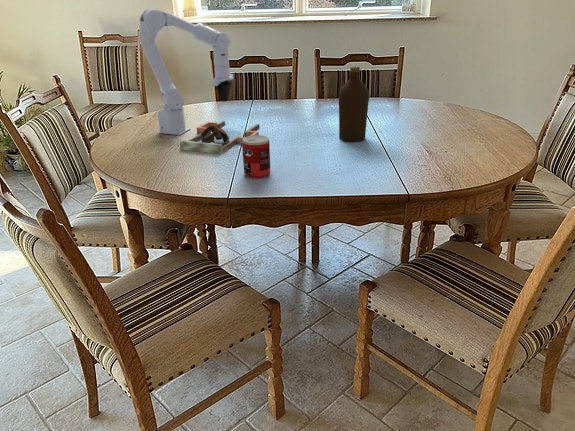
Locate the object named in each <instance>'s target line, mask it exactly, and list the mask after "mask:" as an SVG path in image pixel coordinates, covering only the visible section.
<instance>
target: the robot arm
mask: <svg viewBox="0 0 575 431" xmlns="http://www.w3.org/2000/svg"><path fill="white" fill-rule="evenodd" d="M172 26H173V27H176V28H178V29H181V30H183V31H186V32H187V33H190V34H192V36H193V38H194V39H195V40H198V41H200V42H203V43H204V44H207V45H211V46H212V50H213V53H212V54H213V65H214V78H212V80H211V86H212V87H215V88H216V90H217V92H218V94H219V98H220V100H221V102H228V101H229V93H230V89H231V87H232V85H233V82H232V81H233V80H234V73H230V72H231V71H230V59H229V58H230V57H229V47H230V44H231V40H230V39H229V36H228V35H227V34H226V33H224V32H222V31H221V32H220V31H219V29H218V28H212V27H210V26H208V25H207V23H206V22H202V23H201V22H198V23H196V24H194V23H192V22H190V21H188V20H185V19H183V18H181V17H179V16H177V15H175V14H173V13H169V12H166V11H162V10H159V9H154V8H147V9H145V10H144V11H142V14H141V16H140V17H139V29H138V41H139V43H140V45H141V48H142V50H143V52H144V55H145V56H146V59H147V61H148V63H149V66H150V68H151V70H152V72H153V74H154V77H155V79H156V81H157V84H158V86H159V90H160V92H161V96H160V97H161V102H163V104H164V106H163V107H162V108H160V109H159V110H158V114H157V120H158V126H159V131H158V133H159V134H166V135H167V134H169V135H179V136H180V135H182V134H184V133H186V132H188V131H190V130H191V128H190V127H186V120H185V119H186V118H185V112H184V103H185V100H184V97H183V96H182V95H181V93H179V92H178V89H177V88H176V86H175V84H174V83H173V81H172V78H171V76H170V74H169V72H168V69H167V67H166V64H165V62H164V60H163V58H162V55H161V53H160V51H159V49H158V46H157V44H156V40H155V39H156V37H157V36H158V33H159V32H160V31H161V30H162V29H163V28H164V27H172ZM231 80H232V81H231Z"/></svg>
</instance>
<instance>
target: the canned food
mask: <svg viewBox="0 0 575 431" xmlns="http://www.w3.org/2000/svg"><path fill="white" fill-rule="evenodd" d="M243 137H244V138H243V139H242V143H241V146H242V147H241V148H242V149H241V150H242V161H243V173H244V176H245V177H246V178H250V179H263V178H267V177H268V176H270V173H271V149H270V144H271V143H270V138H269V137H268V136H266V135H261V134H259V135H253V136H247V137H246V136H243Z"/></svg>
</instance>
